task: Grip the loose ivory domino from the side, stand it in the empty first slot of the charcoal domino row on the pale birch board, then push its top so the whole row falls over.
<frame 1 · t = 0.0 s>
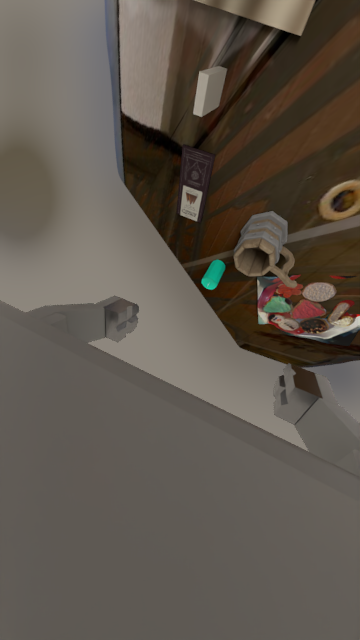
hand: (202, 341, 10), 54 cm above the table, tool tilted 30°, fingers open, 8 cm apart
platter: (305, 309, 73), on the table
candle: (218, 265, 74), on the table
tankard: (273, 240, 57), on the table
chocolate bar: (194, 187, 56), on the table
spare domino: (218, 87, 38), on the table
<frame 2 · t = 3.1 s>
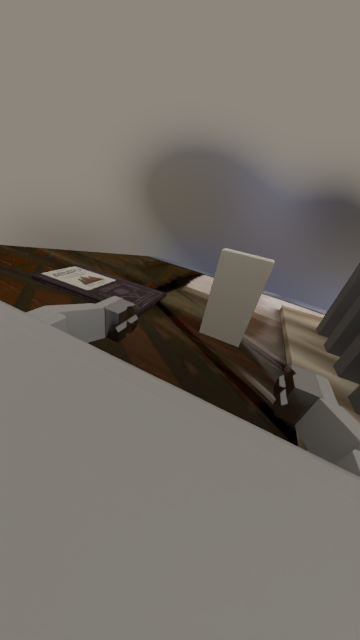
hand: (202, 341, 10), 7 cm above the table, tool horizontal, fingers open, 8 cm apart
domino 4: (347, 356, 23), point 1 cm above the table, touching birch board
birch board: (349, 375, 21), on the table
chocolate bar: (103, 291, 30), on the table
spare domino: (219, 335, 23), on the table
domino 5: (336, 338, 26), point 1 cm above the table, touching birch board
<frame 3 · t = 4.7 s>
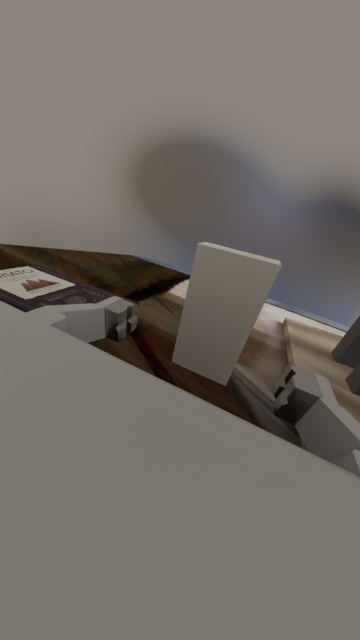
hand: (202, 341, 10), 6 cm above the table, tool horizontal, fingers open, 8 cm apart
chocolate bar: (55, 299, 23), on the table
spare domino: (200, 367, 17), on the table
domino 5: (359, 366, 20), point 1 cm above the table, touching birch board
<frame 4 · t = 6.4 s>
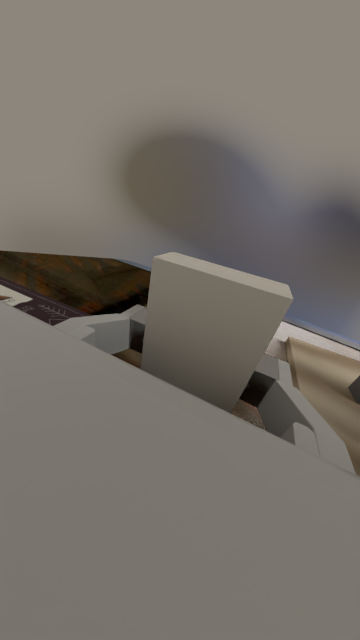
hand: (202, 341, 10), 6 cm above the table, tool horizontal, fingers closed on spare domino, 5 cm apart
chocolate bar: (2, 319, 18), on the table
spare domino: (175, 420, 12), on the table, touching gripper
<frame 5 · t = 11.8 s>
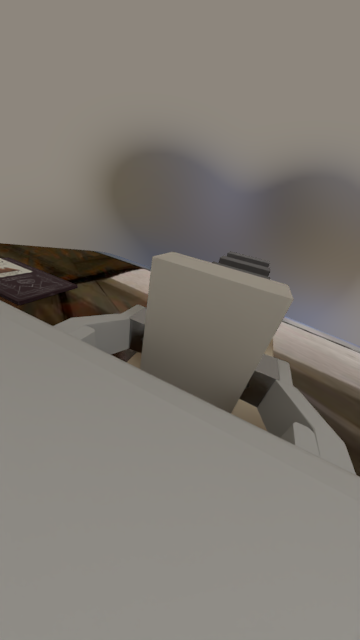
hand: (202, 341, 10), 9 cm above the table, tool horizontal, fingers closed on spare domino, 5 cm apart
domino 4: (217, 339, 24), point 1 cm above the table, touching birch board
birch board: (210, 356, 23), on the table
chocolate bar: (14, 281, 31), on the table
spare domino: (175, 421, 12), point 3 cm above the table, touching gripper
domino 5: (224, 324, 28), point 1 cm above the table, touching birch board
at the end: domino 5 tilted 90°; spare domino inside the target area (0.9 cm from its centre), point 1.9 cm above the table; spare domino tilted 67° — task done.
